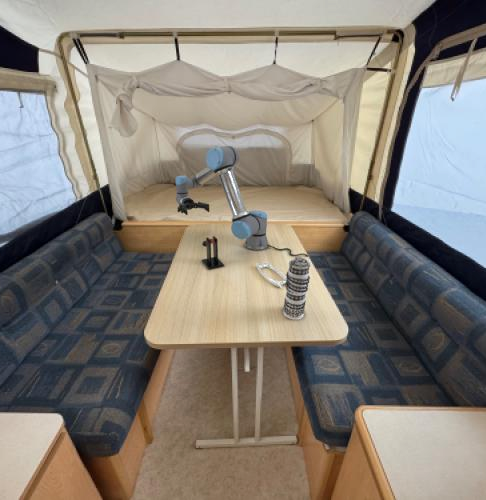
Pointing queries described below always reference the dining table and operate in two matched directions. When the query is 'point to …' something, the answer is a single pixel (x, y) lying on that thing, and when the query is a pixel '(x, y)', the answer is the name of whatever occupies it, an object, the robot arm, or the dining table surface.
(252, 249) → the robot arm
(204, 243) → the lever
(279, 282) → the door handle
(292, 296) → the decorative candle
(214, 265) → the bracket
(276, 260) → the dining table surface
